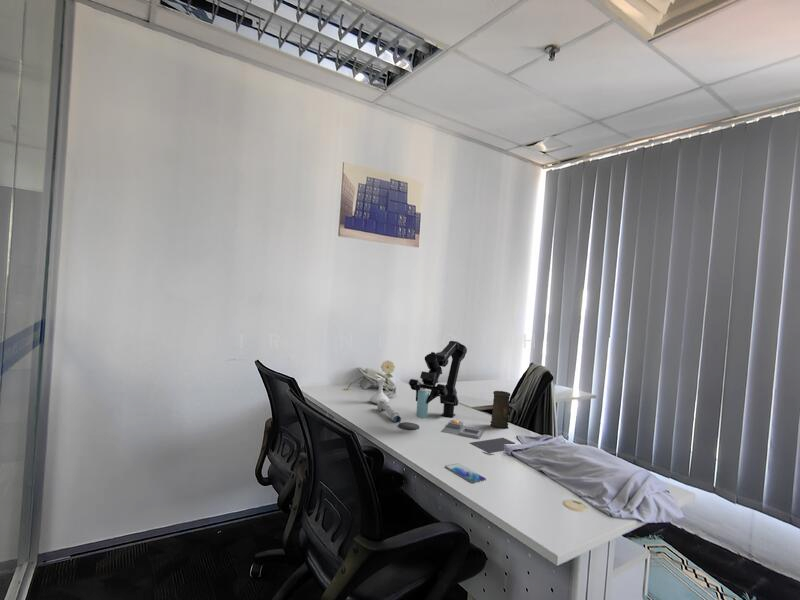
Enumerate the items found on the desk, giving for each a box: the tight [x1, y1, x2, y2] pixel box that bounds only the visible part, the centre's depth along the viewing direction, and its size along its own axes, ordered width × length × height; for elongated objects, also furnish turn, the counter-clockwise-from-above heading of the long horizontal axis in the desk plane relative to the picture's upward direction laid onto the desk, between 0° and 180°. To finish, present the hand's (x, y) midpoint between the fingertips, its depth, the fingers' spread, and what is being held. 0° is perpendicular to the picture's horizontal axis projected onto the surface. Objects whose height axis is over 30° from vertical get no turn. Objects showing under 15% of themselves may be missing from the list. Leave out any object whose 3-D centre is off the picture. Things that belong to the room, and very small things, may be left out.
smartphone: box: [444, 463, 487, 484], centre depth 151 cm, size 7×1×15 cm
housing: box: [440, 419, 486, 440], centre depth 198 cm, size 16×18×3 cm
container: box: [489, 390, 511, 430], centre depth 210 cm, size 9×9×18 cm
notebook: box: [469, 437, 516, 456], centre depth 182 cm, size 13×2×21 cm
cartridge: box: [415, 388, 430, 419], centre depth 197 cm, size 5×5×13 cm
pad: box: [398, 421, 420, 431], centre depth 200 cm, size 10×10×1 cm
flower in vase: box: [369, 359, 396, 404], centre depth 241 cm, size 13×11×25 cm
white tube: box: [376, 399, 402, 424], centre depth 217 cm, size 5×7×25 cm
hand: (421, 401), depth 196 cm, fingers closed on cartridge, 5 cm apart
